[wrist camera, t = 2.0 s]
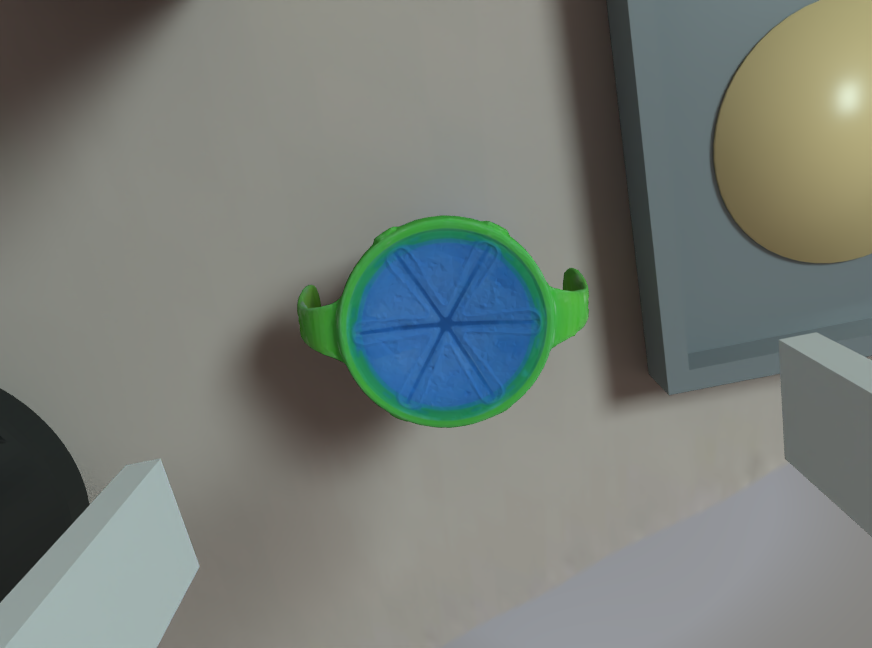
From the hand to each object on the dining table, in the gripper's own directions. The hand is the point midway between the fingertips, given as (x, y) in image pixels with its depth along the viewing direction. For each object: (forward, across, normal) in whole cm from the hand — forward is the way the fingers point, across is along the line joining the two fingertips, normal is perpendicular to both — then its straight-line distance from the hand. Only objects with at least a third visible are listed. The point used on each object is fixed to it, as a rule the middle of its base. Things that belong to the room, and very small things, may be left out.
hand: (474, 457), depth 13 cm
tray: (+17, +18, +3) cm, 24 cm away
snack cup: (+17, 0, 0) cm, 17 cm away
